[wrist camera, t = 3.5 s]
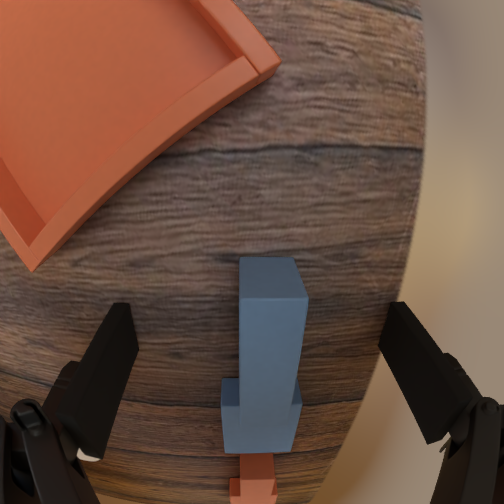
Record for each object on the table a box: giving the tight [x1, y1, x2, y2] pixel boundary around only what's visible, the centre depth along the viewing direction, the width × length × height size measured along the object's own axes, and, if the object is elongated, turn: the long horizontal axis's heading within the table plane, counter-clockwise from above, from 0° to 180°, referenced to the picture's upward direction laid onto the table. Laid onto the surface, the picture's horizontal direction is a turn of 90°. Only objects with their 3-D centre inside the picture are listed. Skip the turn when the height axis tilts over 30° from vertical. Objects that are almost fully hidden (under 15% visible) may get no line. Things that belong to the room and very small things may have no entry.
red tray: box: [0, 0, 282, 272], centre depth 7 cm, size 12×17×2 cm
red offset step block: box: [230, 453, 278, 504], centre depth 19 cm, size 12×4×3 cm, turn 179°
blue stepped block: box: [221, 257, 309, 453], centre depth 13 cm, size 12×4×3 cm, turn 179°
